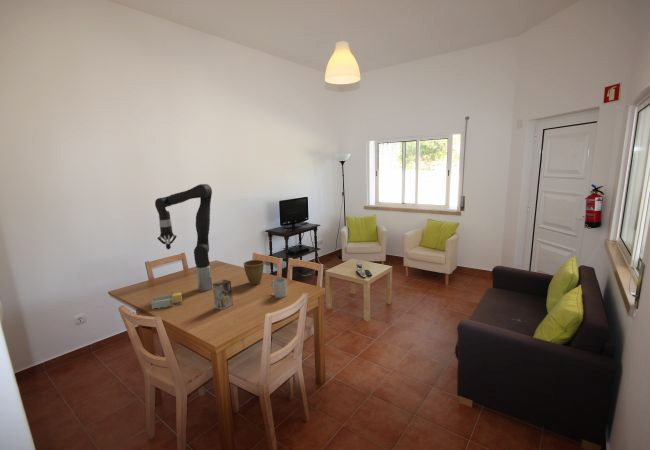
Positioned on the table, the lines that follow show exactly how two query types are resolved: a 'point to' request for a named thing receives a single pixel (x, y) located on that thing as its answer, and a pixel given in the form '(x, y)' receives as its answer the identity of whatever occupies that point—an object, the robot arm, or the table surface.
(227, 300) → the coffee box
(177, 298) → the block
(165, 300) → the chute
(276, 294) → the mug
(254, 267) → the plant pot
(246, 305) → the table surface
